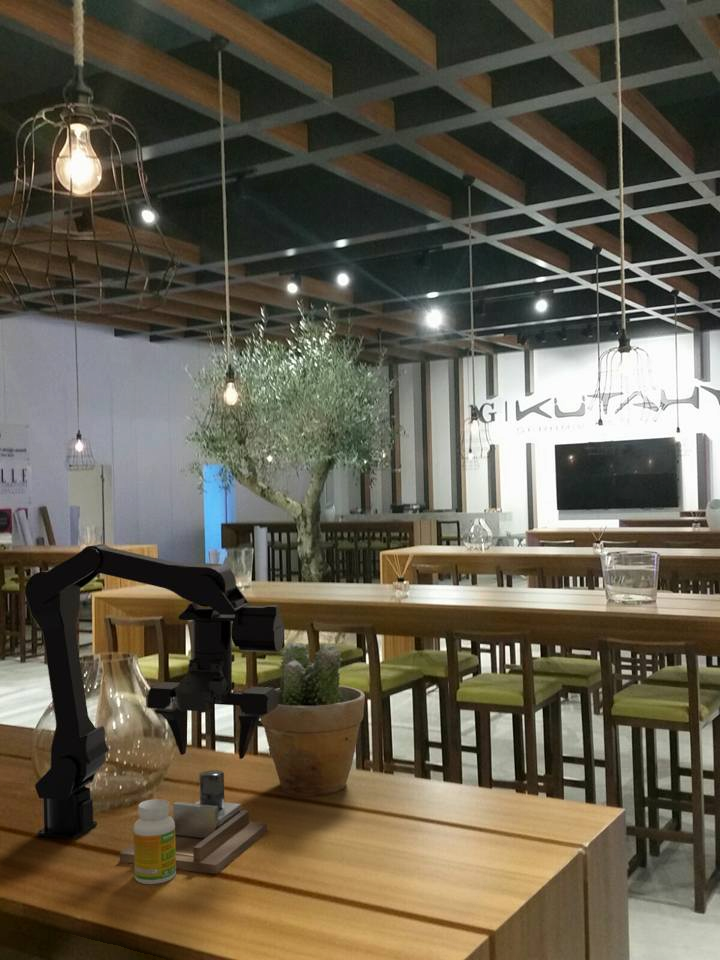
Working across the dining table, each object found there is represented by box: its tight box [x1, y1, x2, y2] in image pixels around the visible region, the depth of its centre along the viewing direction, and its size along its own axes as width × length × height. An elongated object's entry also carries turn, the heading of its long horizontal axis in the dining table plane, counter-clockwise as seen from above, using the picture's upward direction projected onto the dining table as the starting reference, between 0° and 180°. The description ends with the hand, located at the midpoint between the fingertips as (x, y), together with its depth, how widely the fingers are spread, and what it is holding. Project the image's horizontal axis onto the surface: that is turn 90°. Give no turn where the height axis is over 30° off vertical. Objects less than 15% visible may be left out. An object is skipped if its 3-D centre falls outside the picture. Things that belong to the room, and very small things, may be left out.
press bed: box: [119, 809, 268, 875], centre depth 137 cm, size 15×16×3 cm
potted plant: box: [259, 641, 366, 797], centre depth 163 cm, size 18×19×25 cm
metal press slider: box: [172, 769, 242, 838], centre depth 140 cm, size 7×8×7 cm
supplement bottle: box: [133, 798, 177, 885], centre depth 126 cm, size 5×5×10 cm
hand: (212, 756), depth 140 cm, fingers open, 9 cm apart
